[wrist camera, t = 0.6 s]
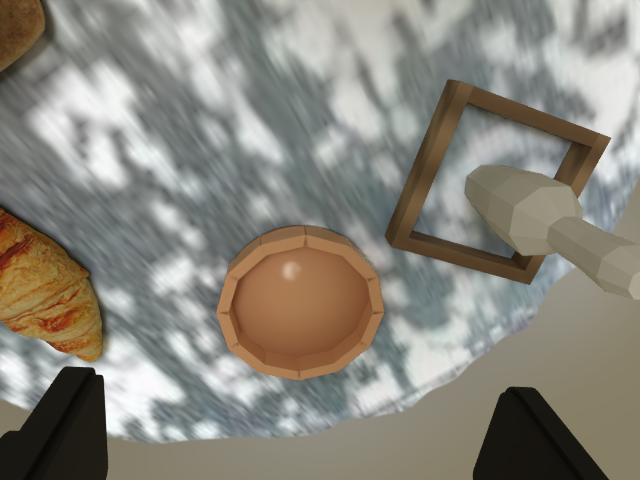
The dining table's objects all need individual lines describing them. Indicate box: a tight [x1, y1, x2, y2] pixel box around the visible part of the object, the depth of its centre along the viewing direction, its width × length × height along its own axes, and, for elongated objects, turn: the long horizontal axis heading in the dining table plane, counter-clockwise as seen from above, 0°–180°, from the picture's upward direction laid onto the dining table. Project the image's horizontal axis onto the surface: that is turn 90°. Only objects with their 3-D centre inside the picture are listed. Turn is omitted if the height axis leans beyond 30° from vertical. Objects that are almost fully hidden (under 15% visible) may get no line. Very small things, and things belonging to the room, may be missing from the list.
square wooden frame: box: [384, 80, 611, 285], centre depth 45 cm, size 17×17×3 cm
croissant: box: [0, 208, 103, 363], centre depth 43 cm, size 21×10×8 cm, turn 27°
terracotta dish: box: [216, 225, 384, 380], centre depth 48 cm, size 17×17×4 cm
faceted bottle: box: [464, 165, 640, 299], centre depth 37 cm, size 6×6×22 cm
